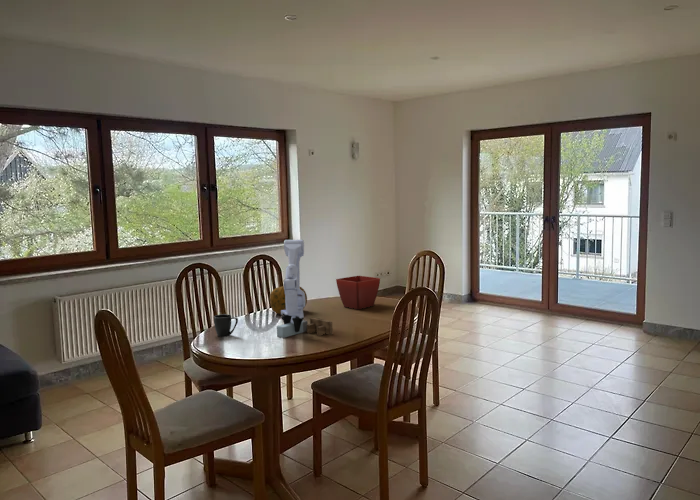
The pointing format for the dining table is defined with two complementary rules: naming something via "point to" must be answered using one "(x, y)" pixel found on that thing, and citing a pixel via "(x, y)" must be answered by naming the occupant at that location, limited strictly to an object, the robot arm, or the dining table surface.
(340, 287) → the plant pot
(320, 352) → the dining table surface
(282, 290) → the decorative pumpkin
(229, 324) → the mug
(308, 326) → the plank with two pegs
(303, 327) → the rail
